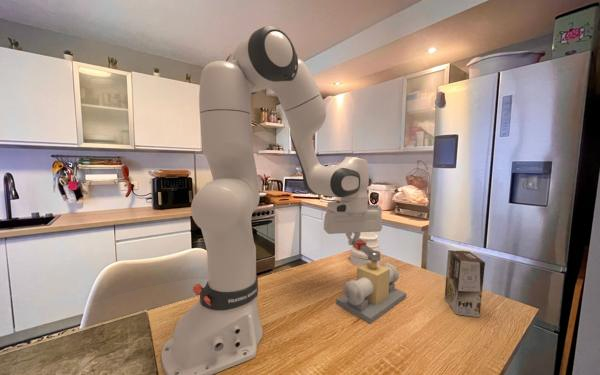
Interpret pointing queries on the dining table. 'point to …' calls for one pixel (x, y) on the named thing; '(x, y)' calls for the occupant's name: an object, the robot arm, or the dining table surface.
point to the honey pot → (358, 256)
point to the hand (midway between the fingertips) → (352, 244)
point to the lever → (367, 250)
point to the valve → (371, 291)
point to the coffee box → (464, 282)
